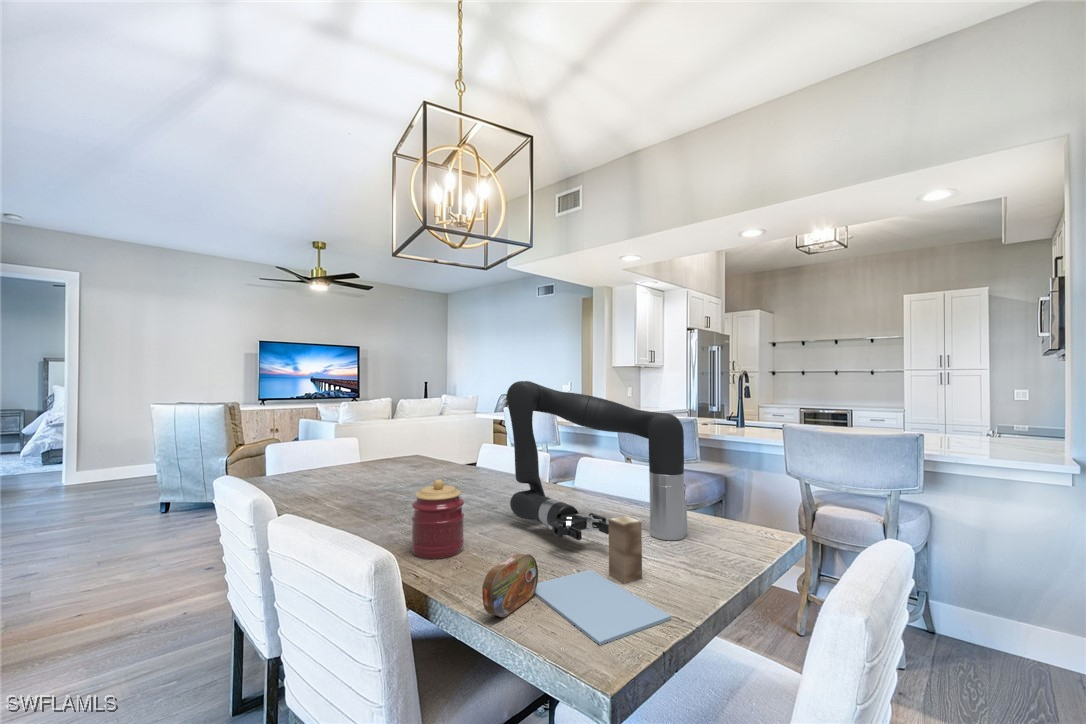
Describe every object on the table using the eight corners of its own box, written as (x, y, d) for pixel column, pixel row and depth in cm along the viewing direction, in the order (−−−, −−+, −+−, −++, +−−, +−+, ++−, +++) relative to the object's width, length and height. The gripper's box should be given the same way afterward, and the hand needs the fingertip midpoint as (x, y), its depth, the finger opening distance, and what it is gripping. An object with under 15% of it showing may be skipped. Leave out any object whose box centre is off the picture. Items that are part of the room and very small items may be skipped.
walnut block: (626, 570, 104) (626, 515, 105) (642, 578, 100) (641, 521, 100) (609, 575, 102) (608, 518, 102) (624, 584, 97) (623, 524, 98)
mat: (590, 572, 103) (590, 569, 103) (671, 619, 83) (671, 615, 83) (527, 588, 95) (527, 585, 95) (599, 645, 75) (599, 641, 75)
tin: (493, 625, 81) (492, 575, 81) (479, 621, 82) (478, 572, 83) (540, 592, 93) (538, 549, 94) (527, 589, 95) (525, 547, 96)
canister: (440, 563, 109) (440, 487, 109) (399, 553, 115) (400, 481, 116) (474, 546, 120) (474, 477, 121) (436, 538, 126) (436, 472, 127)
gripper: (535, 505, 121) (570, 521, 107) (580, 498, 128) (618, 512, 114) (535, 534, 120) (570, 554, 106) (580, 526, 128) (618, 543, 114)
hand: (595, 532), depth 110 cm, fingers open, 8 cm apart
